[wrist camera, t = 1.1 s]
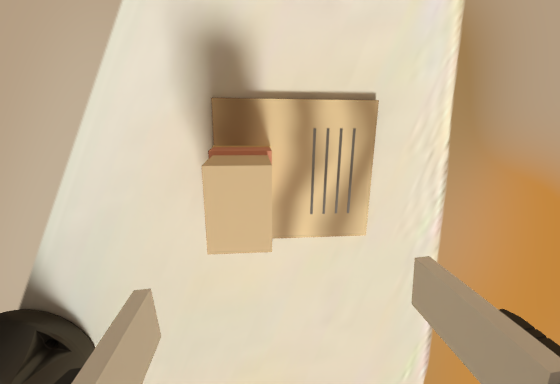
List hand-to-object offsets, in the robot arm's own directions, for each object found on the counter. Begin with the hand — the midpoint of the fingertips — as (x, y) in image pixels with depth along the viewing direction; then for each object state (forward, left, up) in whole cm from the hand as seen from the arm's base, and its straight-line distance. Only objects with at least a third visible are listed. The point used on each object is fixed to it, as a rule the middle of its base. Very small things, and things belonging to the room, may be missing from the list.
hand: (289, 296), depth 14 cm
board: (+3, +2, -19) cm, 20 cm away
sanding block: (-3, +1, -19) cm, 19 cm away
